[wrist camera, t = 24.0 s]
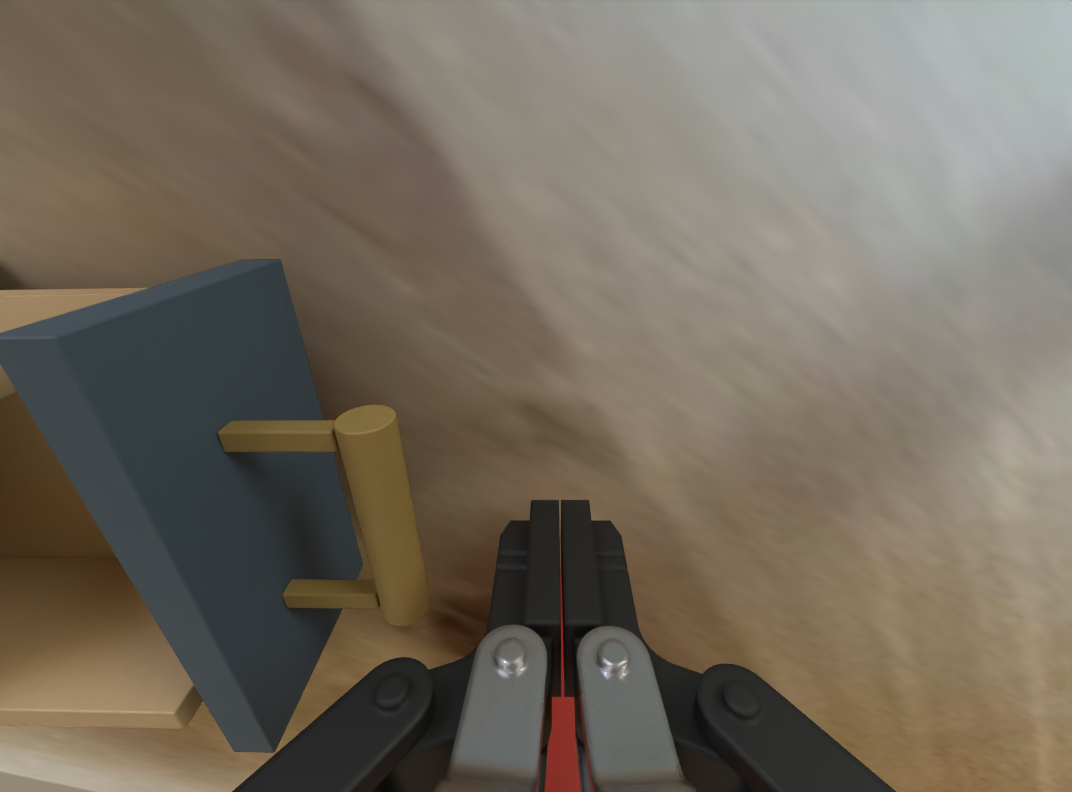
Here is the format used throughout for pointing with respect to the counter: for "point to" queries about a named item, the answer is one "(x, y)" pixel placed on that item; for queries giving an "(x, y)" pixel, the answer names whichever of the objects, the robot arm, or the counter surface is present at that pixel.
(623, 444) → the counter surface
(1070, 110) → the counter surface
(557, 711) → the pepper mill
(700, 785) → the robot arm
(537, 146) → the counter surface
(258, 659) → the drawer
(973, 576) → the counter surface
